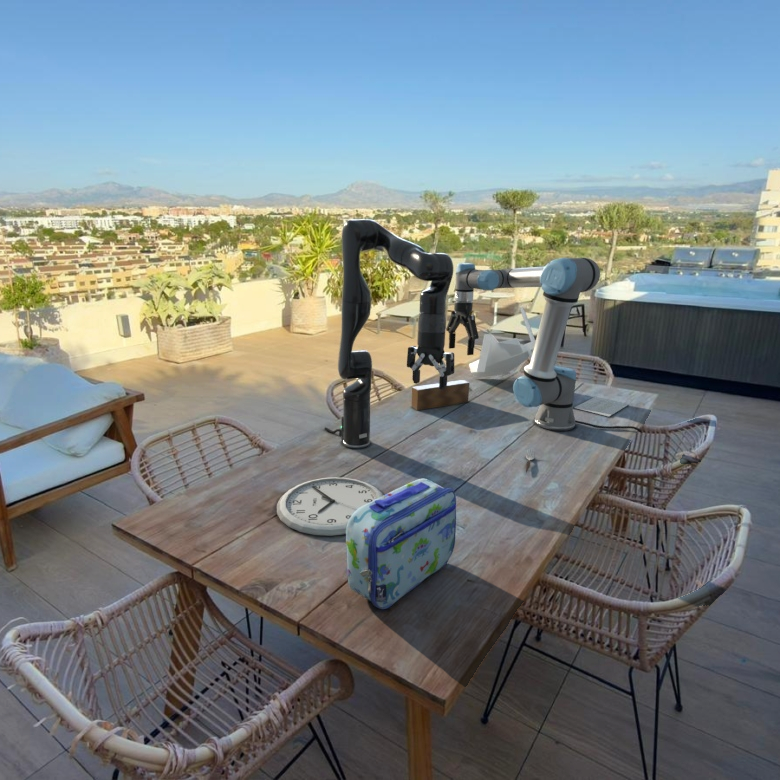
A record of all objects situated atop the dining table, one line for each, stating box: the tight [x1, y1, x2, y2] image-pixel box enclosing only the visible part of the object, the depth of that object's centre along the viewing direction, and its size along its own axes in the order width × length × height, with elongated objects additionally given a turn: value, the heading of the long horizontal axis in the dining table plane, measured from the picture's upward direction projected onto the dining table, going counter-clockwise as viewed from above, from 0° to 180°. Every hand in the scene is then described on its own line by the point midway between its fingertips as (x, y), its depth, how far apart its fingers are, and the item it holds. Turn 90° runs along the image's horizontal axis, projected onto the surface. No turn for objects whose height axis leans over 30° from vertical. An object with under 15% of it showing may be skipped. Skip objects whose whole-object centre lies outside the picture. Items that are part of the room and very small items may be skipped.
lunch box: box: [345, 477, 457, 610], centre depth 110 cm, size 26×11×21 cm, turn 134°
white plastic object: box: [468, 307, 536, 379], centre depth 257 cm, size 37×45×31 cm
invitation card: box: [573, 396, 629, 418], centre depth 226 cm, size 21×1×15 cm
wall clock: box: [276, 476, 385, 537], centre depth 142 cm, size 30×2×30 cm
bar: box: [411, 379, 470, 411], centre depth 224 cm, size 26×5×9 cm, turn 118°
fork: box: [525, 448, 536, 473], centre depth 169 cm, size 3×16×2 cm, turn 160°
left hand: (429, 385), depth 147 cm, fingers open, 8 cm apart
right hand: (460, 351), depth 223 cm, fingers open, 13 cm apart
